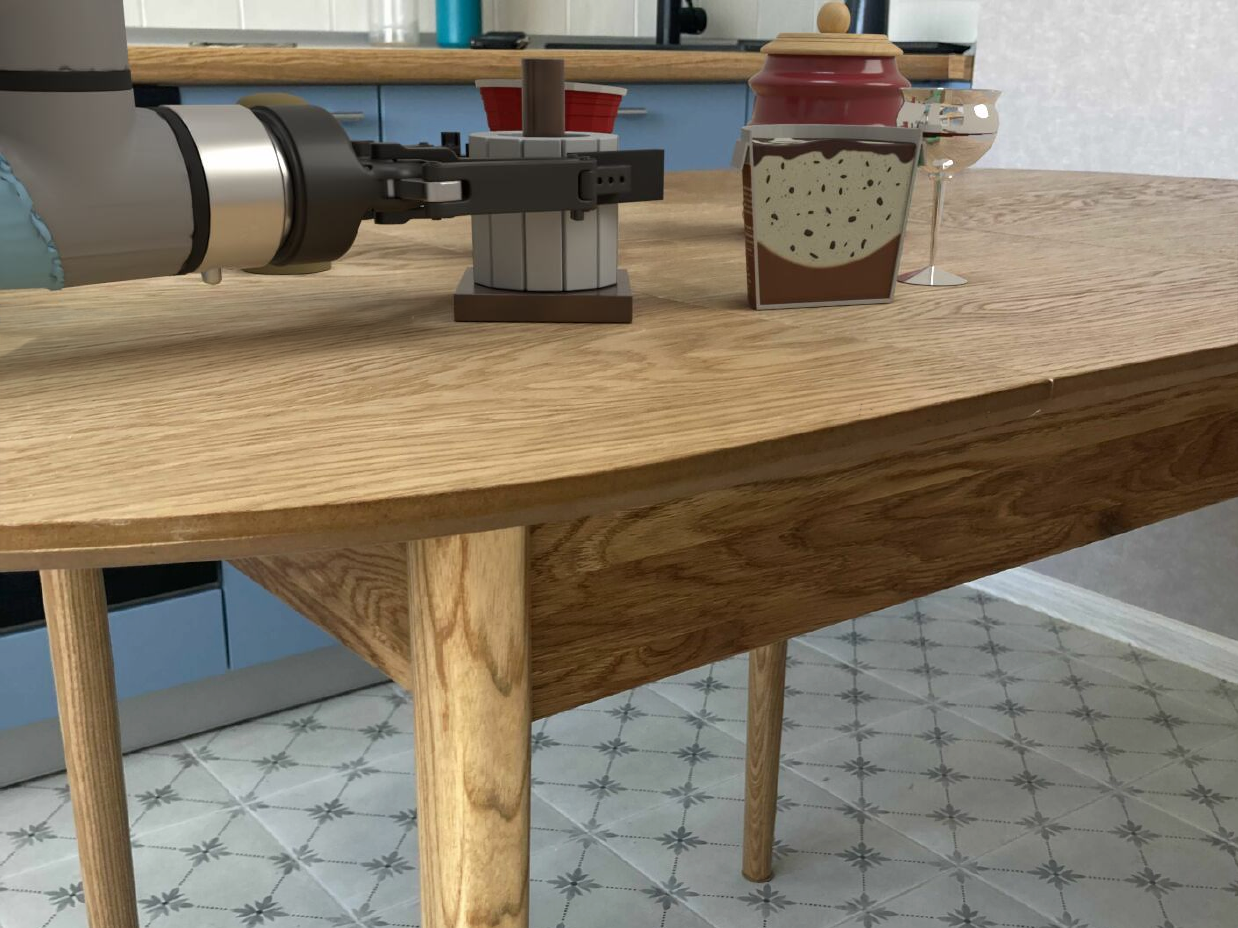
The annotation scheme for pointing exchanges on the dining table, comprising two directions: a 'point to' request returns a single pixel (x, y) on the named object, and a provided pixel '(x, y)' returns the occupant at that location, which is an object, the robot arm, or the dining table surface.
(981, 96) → the wineglass
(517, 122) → the plastic cup
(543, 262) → the plant pot
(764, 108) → the kitchen canister
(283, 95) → the cork
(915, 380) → the dining table surface
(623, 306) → the stand
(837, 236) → the food container
